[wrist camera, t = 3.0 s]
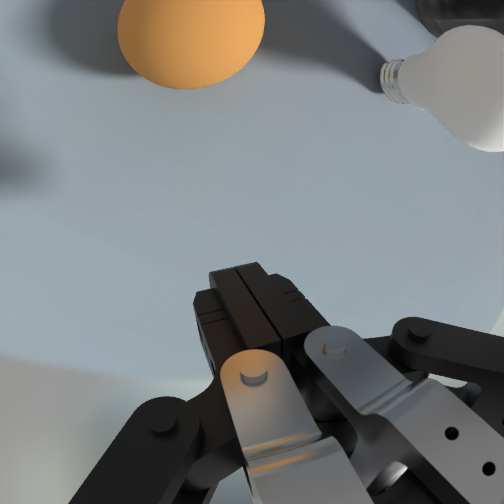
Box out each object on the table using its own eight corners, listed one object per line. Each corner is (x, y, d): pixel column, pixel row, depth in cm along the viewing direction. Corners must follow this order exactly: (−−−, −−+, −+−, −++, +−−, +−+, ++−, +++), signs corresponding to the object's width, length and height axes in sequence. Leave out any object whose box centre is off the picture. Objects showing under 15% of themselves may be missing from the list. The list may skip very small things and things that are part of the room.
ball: (236, -11, 12) (283, -58, 7) (243, 89, 15) (295, 79, 10) (121, -3, 10) (114, -58, 5) (125, 102, 13) (114, 94, 8)
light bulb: (333, 45, 15) (499, 27, 5) (403, 29, 15) (542, 26, 6) (366, 142, 18) (519, 190, 9) (427, 112, 19) (557, 144, 9)
